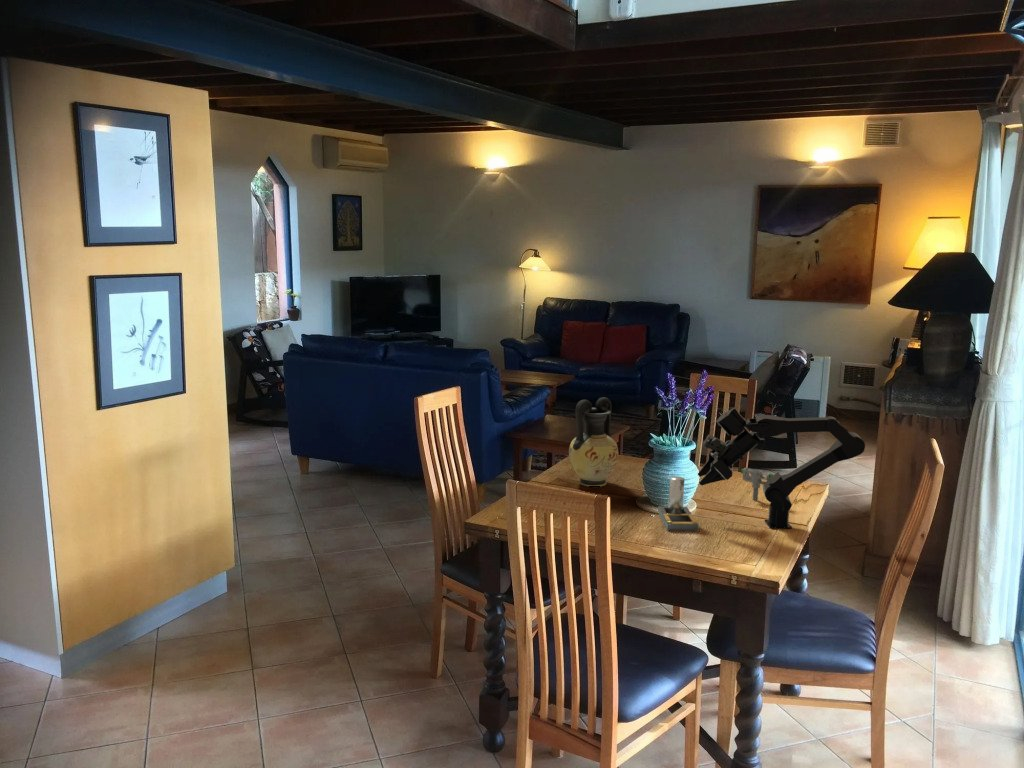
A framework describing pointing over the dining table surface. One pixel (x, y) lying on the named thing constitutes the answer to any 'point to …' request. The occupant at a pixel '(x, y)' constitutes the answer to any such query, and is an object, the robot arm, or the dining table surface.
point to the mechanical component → (754, 479)
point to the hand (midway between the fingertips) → (699, 479)
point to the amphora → (593, 443)
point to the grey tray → (678, 520)
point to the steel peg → (676, 495)
